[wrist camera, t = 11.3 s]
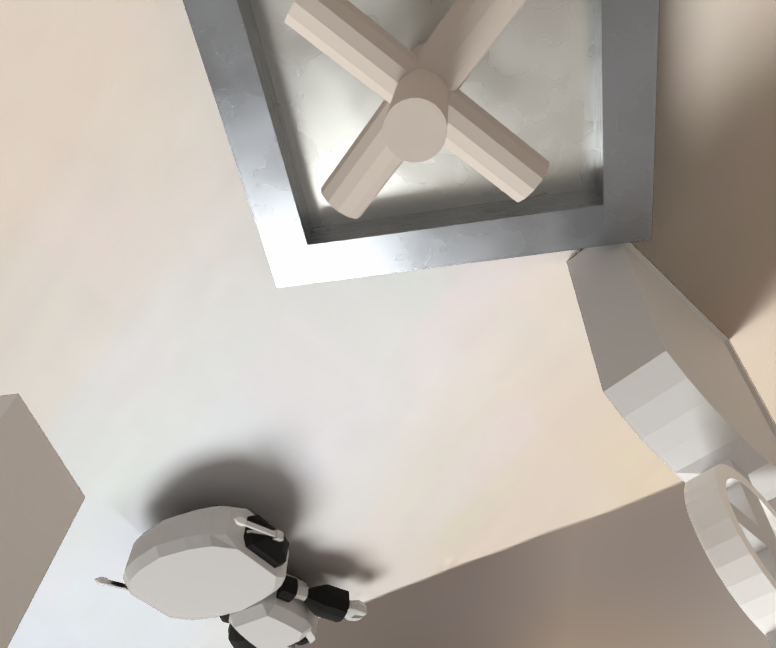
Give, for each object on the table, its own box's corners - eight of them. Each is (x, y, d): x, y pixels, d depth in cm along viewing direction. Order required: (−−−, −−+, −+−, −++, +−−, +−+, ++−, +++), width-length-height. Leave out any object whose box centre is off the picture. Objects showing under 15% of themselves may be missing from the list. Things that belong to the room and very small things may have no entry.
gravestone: (682, 369, 37) (839, 727, 23) (566, 262, 34) (662, 600, 19) (729, 339, 36) (926, 698, 21) (613, 225, 32) (753, 558, 18)
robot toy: (380, 575, 51) (242, 461, 43) (379, 636, 47) (228, 524, 40) (252, 621, 55) (106, 525, 48) (242, 679, 52) (82, 587, 44)
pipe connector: (447, 228, 32) (443, 344, 23) (260, 90, 29) (178, 162, 21) (608, 39, 27) (677, 96, 19) (403, -141, 25) (375, -172, 16)
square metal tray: (284, 265, 35) (276, 287, 33) (157, -138, 25) (138, -135, 24) (641, 218, 32) (651, 239, 31) (651, -254, 23) (667, -259, 21)
